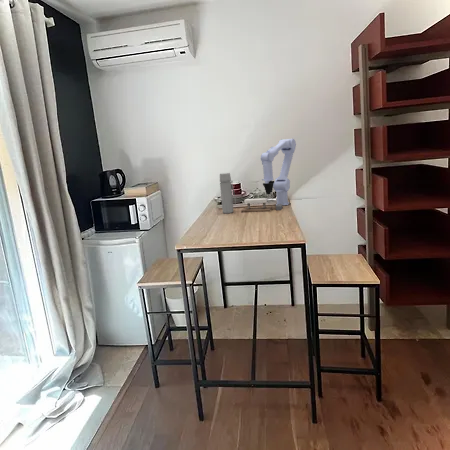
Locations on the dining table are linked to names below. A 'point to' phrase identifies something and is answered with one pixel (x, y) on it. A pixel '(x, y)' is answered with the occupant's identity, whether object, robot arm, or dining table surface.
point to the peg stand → (256, 208)
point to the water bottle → (226, 193)
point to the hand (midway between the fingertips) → (269, 193)
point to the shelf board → (256, 200)
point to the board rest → (279, 207)
